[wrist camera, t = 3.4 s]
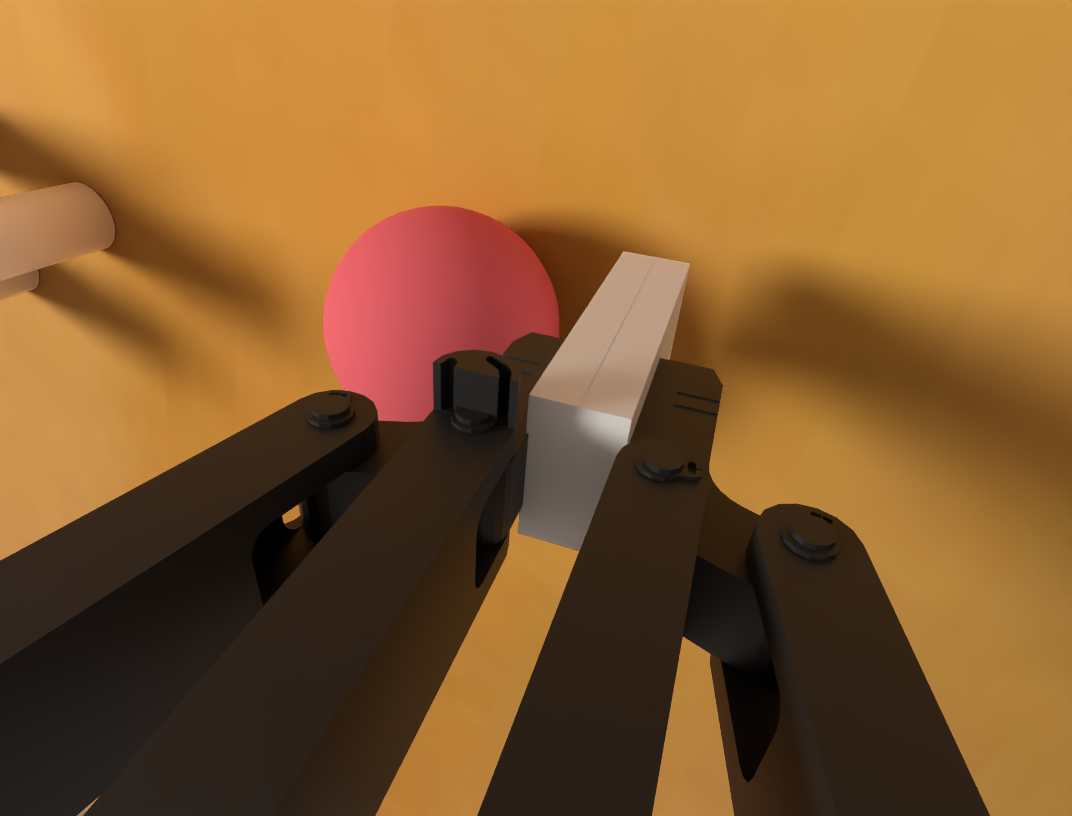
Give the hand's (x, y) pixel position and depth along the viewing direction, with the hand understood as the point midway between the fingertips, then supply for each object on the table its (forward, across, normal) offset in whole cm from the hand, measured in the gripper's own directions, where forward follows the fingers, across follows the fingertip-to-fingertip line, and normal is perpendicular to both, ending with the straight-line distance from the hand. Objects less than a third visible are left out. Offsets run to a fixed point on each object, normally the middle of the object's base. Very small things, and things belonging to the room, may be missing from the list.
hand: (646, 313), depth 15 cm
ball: (0, +5, +2) cm, 5 cm away
